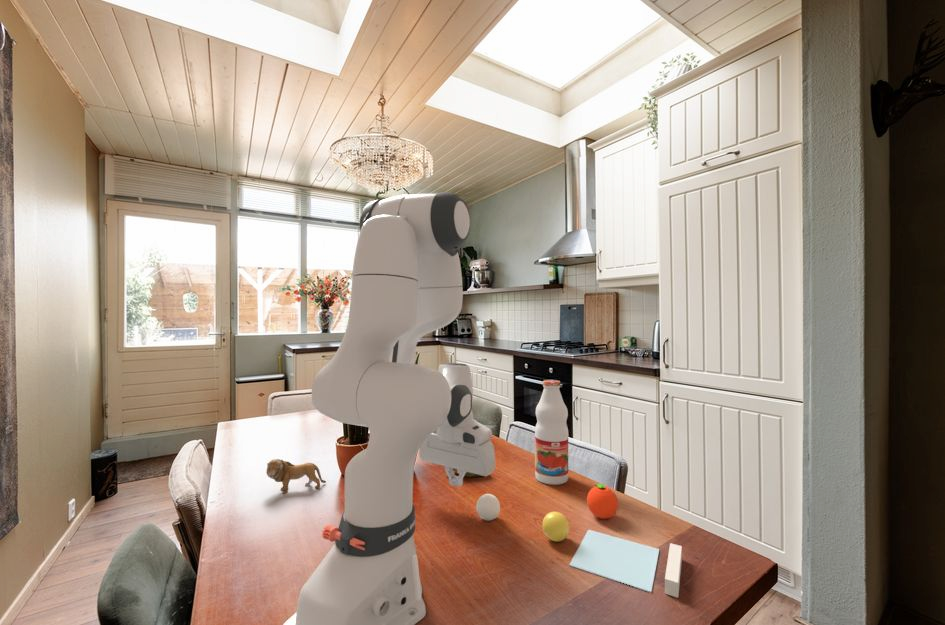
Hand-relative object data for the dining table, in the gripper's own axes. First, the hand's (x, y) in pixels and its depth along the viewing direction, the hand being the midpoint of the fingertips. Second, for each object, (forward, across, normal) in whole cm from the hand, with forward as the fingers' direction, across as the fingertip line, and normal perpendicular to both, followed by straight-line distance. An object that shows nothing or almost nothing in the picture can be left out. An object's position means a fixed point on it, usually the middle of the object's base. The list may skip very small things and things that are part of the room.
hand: (456, 484), depth 96 cm
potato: (+6, -9, +18) cm, 21 cm away
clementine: (+6, +31, +14) cm, 35 cm away
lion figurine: (+5, -42, -15) cm, 45 cm away
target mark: (+5, +38, -1) cm, 38 cm away
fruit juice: (+6, +14, +28) cm, 32 cm away
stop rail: (+5, +48, -1) cm, 48 cm away
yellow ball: (+2, +26, -1) cm, 26 cm away
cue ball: (+3, +10, -1) cm, 10 cm away
